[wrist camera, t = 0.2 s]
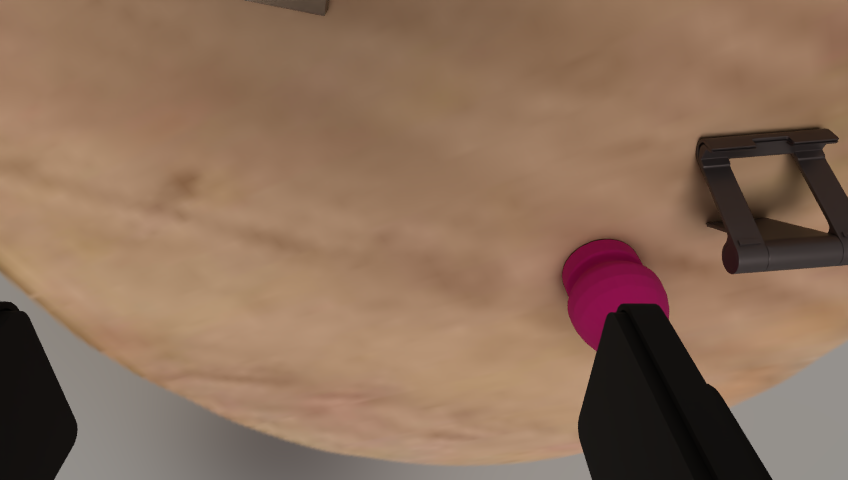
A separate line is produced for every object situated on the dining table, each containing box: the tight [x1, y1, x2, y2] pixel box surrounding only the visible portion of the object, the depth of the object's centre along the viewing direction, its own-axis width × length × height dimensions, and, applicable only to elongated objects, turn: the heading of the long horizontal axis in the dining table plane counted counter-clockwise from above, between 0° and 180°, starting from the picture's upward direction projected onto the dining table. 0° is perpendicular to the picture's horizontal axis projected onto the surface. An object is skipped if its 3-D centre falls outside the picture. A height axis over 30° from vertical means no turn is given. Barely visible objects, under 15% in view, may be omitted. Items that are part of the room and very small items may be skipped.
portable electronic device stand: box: [696, 129, 848, 274], centre depth 39 cm, size 9×8×8 cm
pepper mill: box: [562, 239, 669, 351], centre depth 38 cm, size 7×7×20 cm
